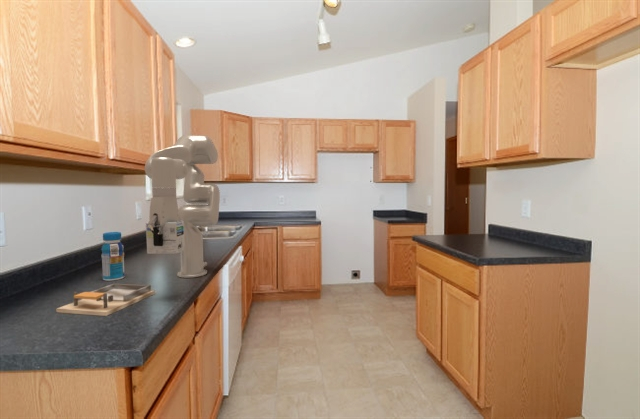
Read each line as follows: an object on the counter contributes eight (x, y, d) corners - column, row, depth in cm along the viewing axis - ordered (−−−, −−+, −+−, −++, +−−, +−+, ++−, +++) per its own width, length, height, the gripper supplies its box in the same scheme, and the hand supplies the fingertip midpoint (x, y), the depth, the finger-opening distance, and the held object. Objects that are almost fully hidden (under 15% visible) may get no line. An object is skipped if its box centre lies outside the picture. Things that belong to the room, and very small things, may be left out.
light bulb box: (185, 250, 119) (184, 220, 118) (177, 253, 112) (176, 222, 112) (155, 250, 119) (154, 220, 118) (146, 254, 112) (144, 222, 111)
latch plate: (85, 294, 108) (84, 291, 107) (106, 295, 106) (106, 293, 106) (73, 298, 104) (73, 295, 104) (95, 299, 102) (95, 297, 102)
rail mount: (112, 291, 125) (111, 276, 125) (154, 293, 122) (154, 278, 121) (56, 312, 103) (55, 294, 103) (106, 316, 100) (105, 297, 100)
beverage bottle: (97, 281, 139) (95, 234, 138) (109, 276, 147) (107, 231, 146) (118, 281, 139) (116, 234, 138) (129, 275, 147) (127, 231, 146)
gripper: (170, 193, 123) (171, 239, 125) (136, 193, 106) (138, 248, 108) (188, 193, 122) (190, 240, 123) (157, 193, 105) (159, 248, 106)
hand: (166, 243), depth 115 cm, fingers closed on light bulb box, 7 cm apart
